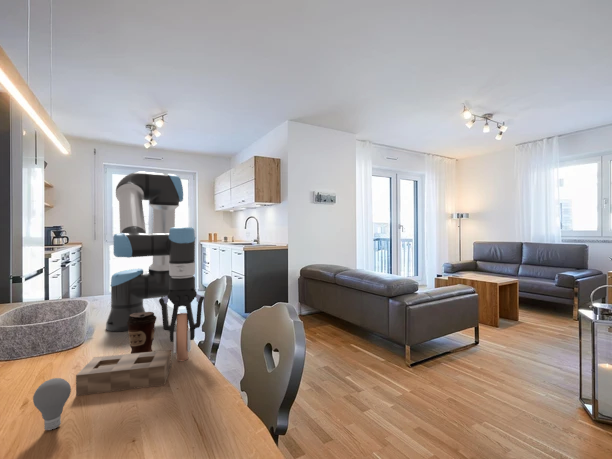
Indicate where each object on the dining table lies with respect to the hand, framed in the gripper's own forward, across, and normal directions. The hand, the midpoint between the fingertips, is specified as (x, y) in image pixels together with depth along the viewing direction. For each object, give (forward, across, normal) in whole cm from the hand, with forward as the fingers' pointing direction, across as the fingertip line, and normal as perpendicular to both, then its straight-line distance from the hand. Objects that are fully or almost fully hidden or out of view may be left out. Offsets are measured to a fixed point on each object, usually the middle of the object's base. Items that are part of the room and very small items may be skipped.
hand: (182, 350), depth 97 cm
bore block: (+3, -12, -10) cm, 17 cm away
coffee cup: (+3, -14, +8) cm, 16 cm away
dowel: (+3, 0, 0) cm, 3 cm away
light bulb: (+3, -22, -29) cm, 36 cm away
